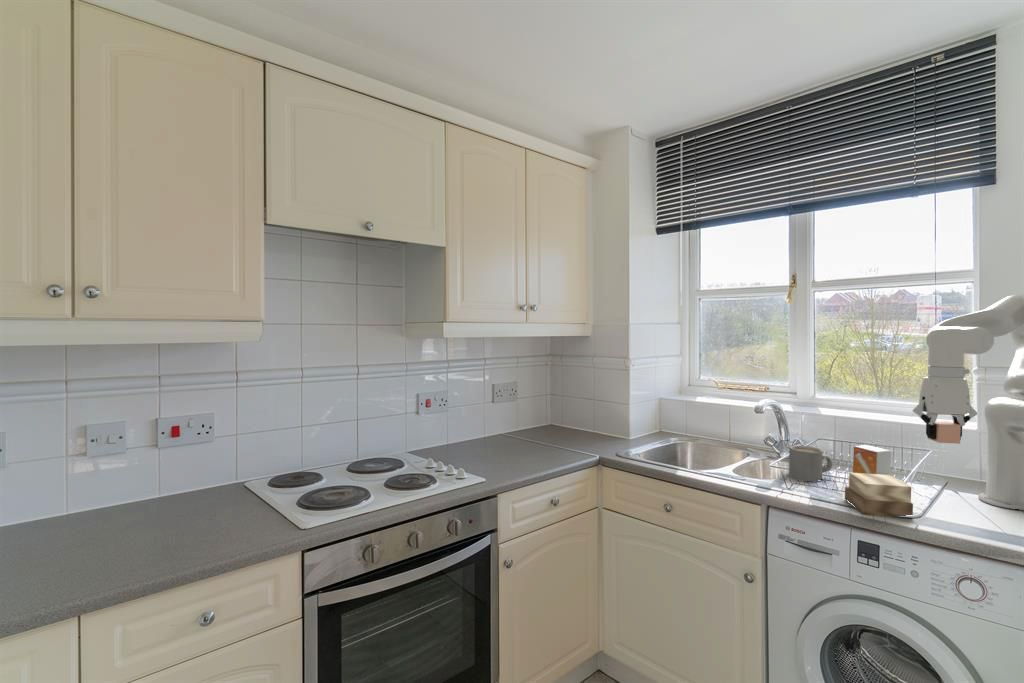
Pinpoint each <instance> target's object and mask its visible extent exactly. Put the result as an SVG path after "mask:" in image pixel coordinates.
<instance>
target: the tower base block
mask: <svg viewBox="0 0 1024 683" xmlns="http://www.w3.org/2000/svg"><path fill="white" fill-rule="evenodd" d="M845 499H846V500H848V501H849V502H850V503H852V504H853V505H854V506H855V507H856V509H855V510H857V511H858V512H859V513H860V514H862V515H863V516H872V517H873V516H876V517H887V516H906V515H913V514H914V512H913V511H914V503H913V502H911V503H903V502H890V501H876V500H865V499H864V498H863V497H861V496H860V495H859V494H857V493H856V492H855V491H853V490H852V489H851V488H849V486H844V500H845ZM913 516H914V515H913ZM887 518H888V517H887Z"/></svg>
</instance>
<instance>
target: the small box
mask: <svg viewBox="0 0 1024 683" xmlns="http://www.w3.org/2000/svg"><path fill="white" fill-rule="evenodd" d="M852 460H853V461H852V473H865V474H881V475H891V464H892V463H891V462H892V450H890V449H885V448H881V447H877V446H873V445H869V444H861V445H854V446H853V458H852Z"/></svg>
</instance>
